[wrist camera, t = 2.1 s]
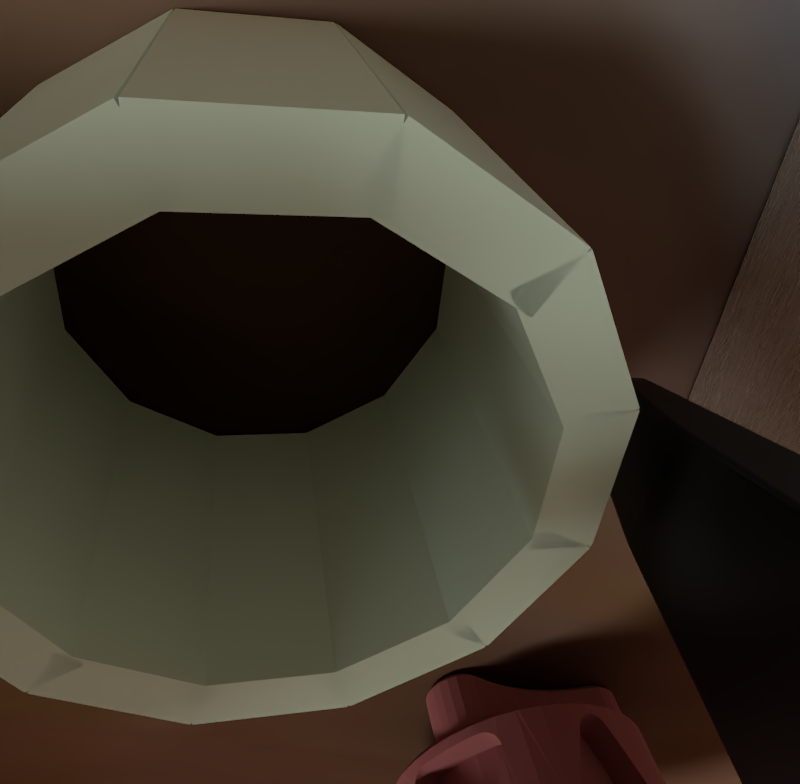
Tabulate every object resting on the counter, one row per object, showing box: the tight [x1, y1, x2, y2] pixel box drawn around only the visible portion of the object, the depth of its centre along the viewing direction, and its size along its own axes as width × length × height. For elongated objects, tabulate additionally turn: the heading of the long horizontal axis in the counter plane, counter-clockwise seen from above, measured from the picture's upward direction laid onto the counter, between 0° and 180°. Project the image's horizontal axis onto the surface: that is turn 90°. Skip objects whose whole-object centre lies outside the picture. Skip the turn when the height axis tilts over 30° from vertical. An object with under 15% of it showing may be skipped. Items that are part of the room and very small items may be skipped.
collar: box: [0, 8, 640, 725], centre depth 9 cm, size 8×8×5 cm
